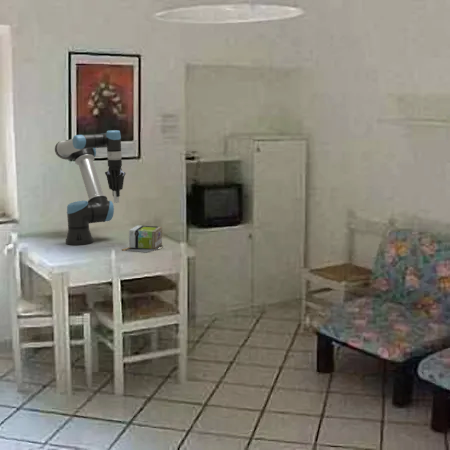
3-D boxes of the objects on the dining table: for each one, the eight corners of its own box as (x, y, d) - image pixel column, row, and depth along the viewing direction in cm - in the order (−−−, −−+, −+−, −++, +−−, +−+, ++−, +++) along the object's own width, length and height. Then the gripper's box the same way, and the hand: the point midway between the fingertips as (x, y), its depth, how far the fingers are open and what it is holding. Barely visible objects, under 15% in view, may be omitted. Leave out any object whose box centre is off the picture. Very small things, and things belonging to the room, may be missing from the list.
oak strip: (121, 250, 406) (121, 249, 406) (143, 244, 421) (143, 243, 421) (124, 250, 405) (124, 249, 405) (145, 245, 420) (145, 243, 420)
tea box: (128, 248, 408) (155, 249, 406) (128, 229, 406) (155, 231, 404) (136, 242, 423) (162, 244, 420) (136, 224, 421) (162, 226, 418)
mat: (125, 250, 406) (125, 250, 406) (145, 245, 419) (145, 245, 419) (146, 252, 398) (146, 252, 398) (165, 247, 411) (165, 247, 411)
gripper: (100, 159, 412) (102, 202, 416) (119, 160, 405) (120, 204, 409) (110, 158, 418) (112, 201, 422) (128, 159, 411) (130, 202, 415)
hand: (116, 202), depth 416 cm, fingers closed
